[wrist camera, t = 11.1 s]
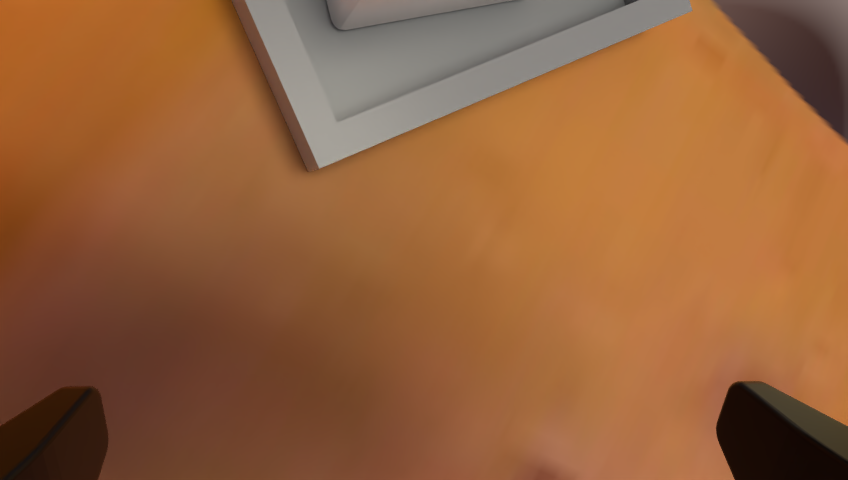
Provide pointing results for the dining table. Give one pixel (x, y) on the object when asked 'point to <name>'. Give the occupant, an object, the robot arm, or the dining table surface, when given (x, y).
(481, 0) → the medicine bottle
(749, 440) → the robot arm
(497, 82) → the slate tray
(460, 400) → the dining table surface
